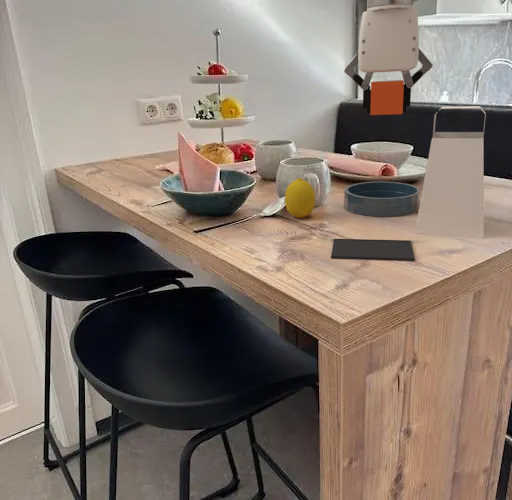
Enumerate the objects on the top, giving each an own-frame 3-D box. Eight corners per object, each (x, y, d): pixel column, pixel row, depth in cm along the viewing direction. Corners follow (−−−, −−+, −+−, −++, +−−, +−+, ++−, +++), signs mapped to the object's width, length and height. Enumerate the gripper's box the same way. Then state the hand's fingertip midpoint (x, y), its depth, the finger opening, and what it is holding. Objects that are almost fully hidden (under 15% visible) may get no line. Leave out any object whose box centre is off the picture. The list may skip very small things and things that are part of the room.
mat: (409, 240, 80) (409, 238, 80) (414, 261, 72) (415, 258, 72) (334, 238, 83) (334, 236, 83) (331, 258, 75) (331, 255, 74)
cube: (400, 111, 93) (402, 80, 91) (402, 114, 88) (404, 81, 86) (370, 112, 94) (371, 81, 92) (370, 115, 89) (371, 82, 87)
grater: (420, 218, 91) (428, 105, 85) (483, 222, 88) (496, 104, 81) (414, 236, 82) (422, 110, 76) (483, 241, 78) (498, 109, 72)
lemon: (301, 214, 98) (300, 173, 95) (321, 220, 93) (321, 177, 91) (279, 220, 95) (278, 178, 92) (298, 226, 90) (297, 182, 88)
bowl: (415, 200, 103) (416, 181, 102) (422, 220, 90) (424, 198, 89) (345, 200, 106) (346, 181, 105) (342, 219, 93) (343, 198, 92)
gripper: (440, -1, 86) (433, 108, 92) (339, 7, 90) (339, 111, 96) (446, -6, 79) (438, 112, 85) (337, 3, 83) (336, 115, 89)
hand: (386, 110), depth 91 cm, fingers closed on cube, 5 cm apart
